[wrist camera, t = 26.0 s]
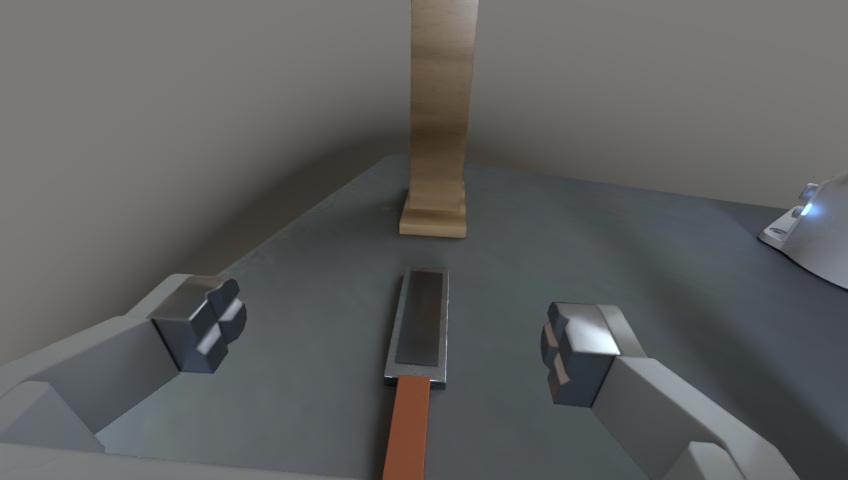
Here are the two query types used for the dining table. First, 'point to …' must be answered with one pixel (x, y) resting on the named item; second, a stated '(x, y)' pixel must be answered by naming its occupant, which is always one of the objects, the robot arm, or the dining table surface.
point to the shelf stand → (439, 115)
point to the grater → (415, 367)
